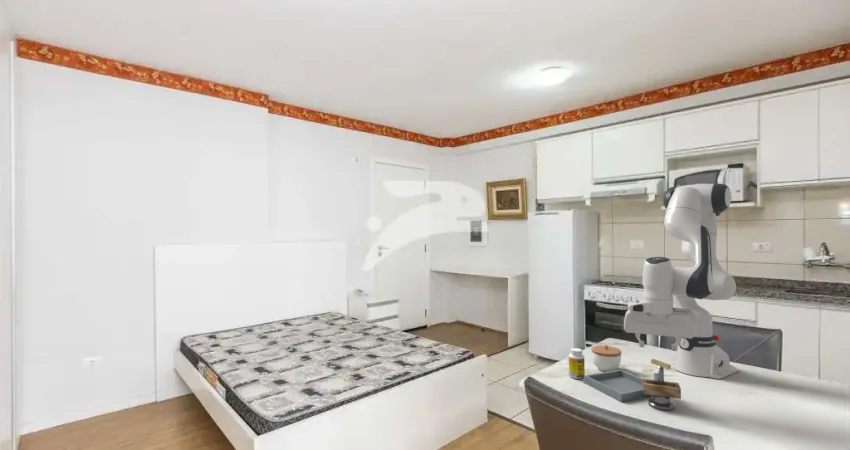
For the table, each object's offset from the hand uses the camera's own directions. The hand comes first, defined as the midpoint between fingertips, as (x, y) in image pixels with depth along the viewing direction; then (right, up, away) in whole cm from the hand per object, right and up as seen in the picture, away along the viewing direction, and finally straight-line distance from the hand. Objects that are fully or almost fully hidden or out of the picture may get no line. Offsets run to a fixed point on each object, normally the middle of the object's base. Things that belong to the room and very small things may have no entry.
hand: (657, 348), depth 134 cm
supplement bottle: (-20, -16, +18) cm, 32 cm away
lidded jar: (-6, -16, +25) cm, 31 cm away
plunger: (-3, -16, -6) cm, 17 cm away
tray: (-9, -16, +7) cm, 20 cm away
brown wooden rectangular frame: (-1, -12, -4) cm, 13 cm away
